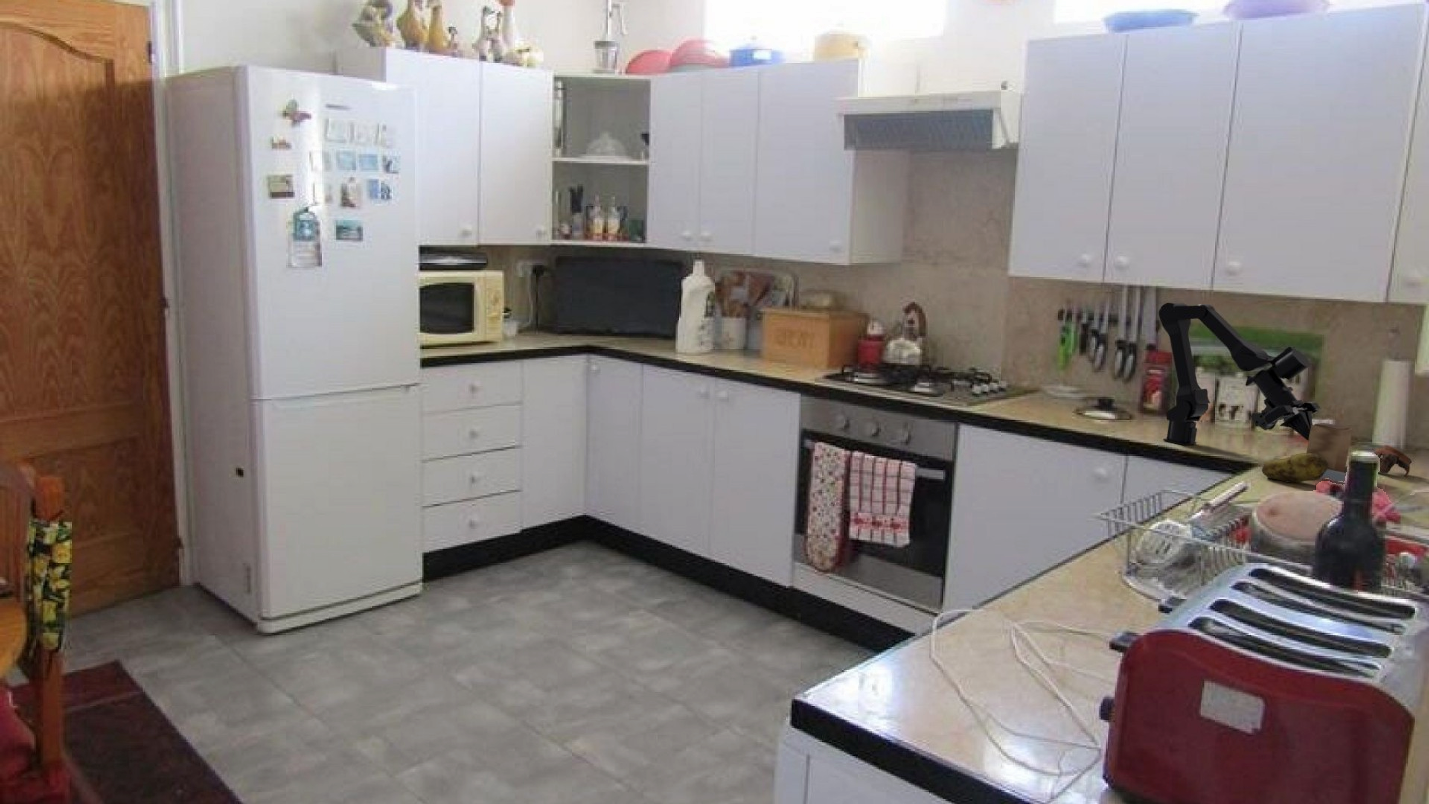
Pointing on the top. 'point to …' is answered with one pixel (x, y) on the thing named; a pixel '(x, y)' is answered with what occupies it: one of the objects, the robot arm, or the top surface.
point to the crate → (1330, 444)
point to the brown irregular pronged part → (1392, 459)
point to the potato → (1296, 468)
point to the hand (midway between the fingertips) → (1312, 441)
